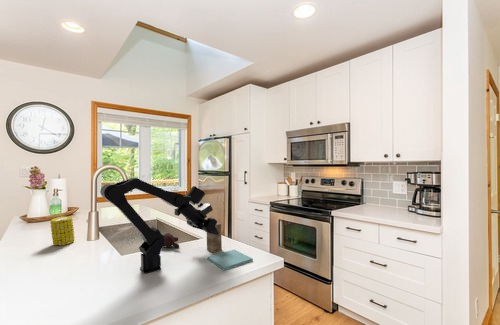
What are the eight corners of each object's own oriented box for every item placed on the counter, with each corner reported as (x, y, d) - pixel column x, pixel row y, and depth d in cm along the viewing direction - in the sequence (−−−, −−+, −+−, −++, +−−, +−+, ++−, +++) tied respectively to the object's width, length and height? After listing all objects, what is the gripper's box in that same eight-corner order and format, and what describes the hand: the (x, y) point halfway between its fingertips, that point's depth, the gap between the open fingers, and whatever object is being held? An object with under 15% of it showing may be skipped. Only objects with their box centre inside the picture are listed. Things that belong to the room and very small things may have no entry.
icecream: (149, 234, 126) (172, 241, 120) (160, 227, 133) (182, 233, 126) (151, 246, 128) (174, 253, 122) (162, 239, 135) (184, 245, 128)
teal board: (224, 270, 98) (224, 267, 98) (207, 259, 110) (207, 257, 110) (252, 260, 107) (252, 258, 107) (234, 251, 118) (234, 249, 118)
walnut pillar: (212, 252, 117) (212, 225, 117) (207, 249, 121) (206, 223, 121) (221, 250, 121) (221, 223, 120) (215, 247, 124) (215, 221, 124)
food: (78, 243, 140) (61, 251, 130) (60, 238, 141) (42, 245, 131) (81, 217, 138) (65, 222, 128) (63, 211, 140) (45, 217, 130)
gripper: (212, 200, 109) (233, 221, 117) (191, 196, 123) (211, 215, 131) (197, 222, 104) (220, 242, 112) (177, 215, 118) (198, 233, 126)
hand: (212, 232), depth 120 cm, fingers open, 9 cm apart
